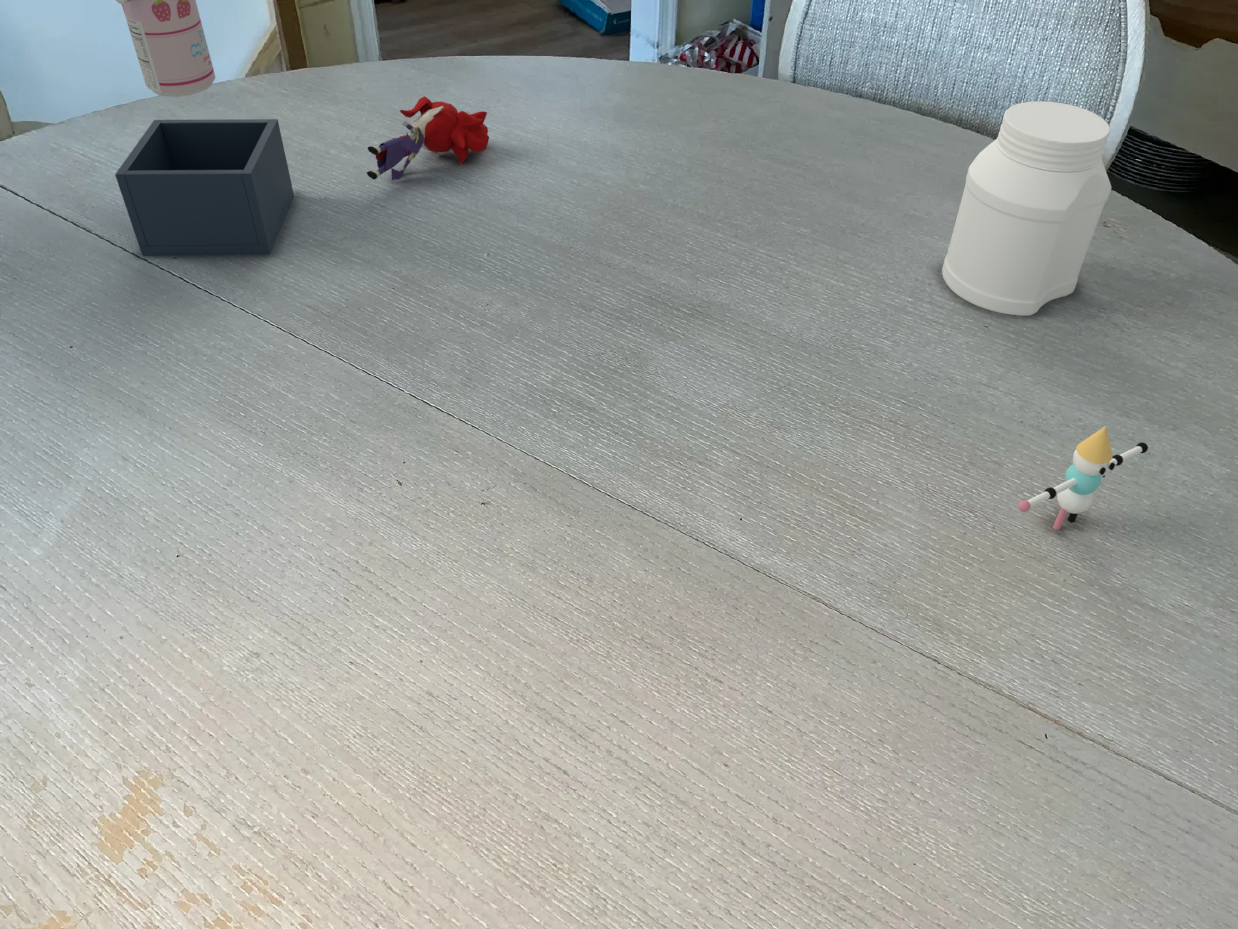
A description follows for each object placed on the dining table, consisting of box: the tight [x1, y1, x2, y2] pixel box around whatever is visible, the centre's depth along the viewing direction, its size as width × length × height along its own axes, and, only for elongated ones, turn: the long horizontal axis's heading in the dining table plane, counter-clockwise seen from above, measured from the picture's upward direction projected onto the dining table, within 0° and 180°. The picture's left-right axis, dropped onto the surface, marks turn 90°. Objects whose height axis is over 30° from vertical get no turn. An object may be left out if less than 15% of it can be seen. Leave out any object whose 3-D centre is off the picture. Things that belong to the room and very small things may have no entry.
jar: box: [941, 100, 1112, 317], centre depth 87 cm, size 12×10×15 cm
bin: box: [114, 118, 295, 257], centre depth 95 cm, size 12×12×8 cm
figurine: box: [366, 95, 490, 181], centre depth 105 cm, size 6×8×15 cm
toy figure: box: [1017, 425, 1149, 531], centre depth 66 cm, size 12×2×9 cm, turn 121°
